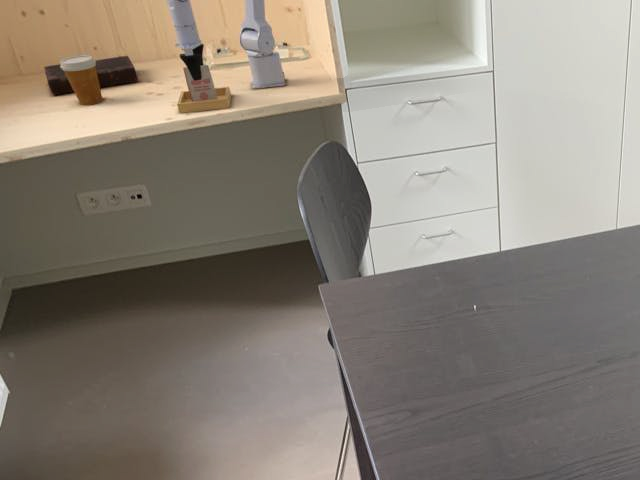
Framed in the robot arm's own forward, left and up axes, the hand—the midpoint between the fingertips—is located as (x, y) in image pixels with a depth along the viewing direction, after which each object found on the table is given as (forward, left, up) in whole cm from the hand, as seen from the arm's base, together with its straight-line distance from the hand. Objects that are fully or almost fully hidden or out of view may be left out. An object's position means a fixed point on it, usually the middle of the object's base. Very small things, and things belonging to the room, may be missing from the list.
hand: (198, 76), depth 223 cm
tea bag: (0, 0, -8) cm, 8 cm away
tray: (0, 0, -8) cm, 8 cm away
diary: (+37, -37, -8) cm, 53 cm away
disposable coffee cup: (+34, -15, -8) cm, 38 cm away
